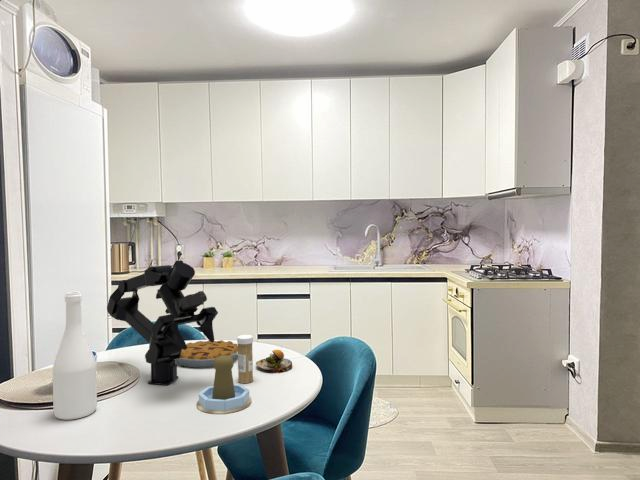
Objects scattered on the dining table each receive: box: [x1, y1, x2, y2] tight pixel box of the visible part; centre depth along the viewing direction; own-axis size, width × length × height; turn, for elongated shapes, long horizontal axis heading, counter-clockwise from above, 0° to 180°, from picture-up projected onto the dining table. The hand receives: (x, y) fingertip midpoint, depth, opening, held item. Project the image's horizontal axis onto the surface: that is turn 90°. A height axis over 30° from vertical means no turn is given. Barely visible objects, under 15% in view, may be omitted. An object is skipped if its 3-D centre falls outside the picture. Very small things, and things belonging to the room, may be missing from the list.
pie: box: [177, 339, 238, 369], centre depth 160 cm, size 22×22×5 cm
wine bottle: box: [52, 291, 98, 421], centre depth 115 cm, size 10×10×30 cm
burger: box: [255, 346, 293, 374], centre depth 151 cm, size 12×12×8 cm
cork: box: [212, 356, 235, 400], centre depth 121 cm, size 6×6×11 cm
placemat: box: [196, 395, 252, 415], centre depth 122 cm, size 14×14×1 cm
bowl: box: [198, 383, 250, 411], centre depth 122 cm, size 12×12×2 cm
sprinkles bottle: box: [236, 334, 254, 384], centre depth 138 cm, size 5×5×14 cm
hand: (200, 345), depth 127 cm, fingers open, 9 cm apart
